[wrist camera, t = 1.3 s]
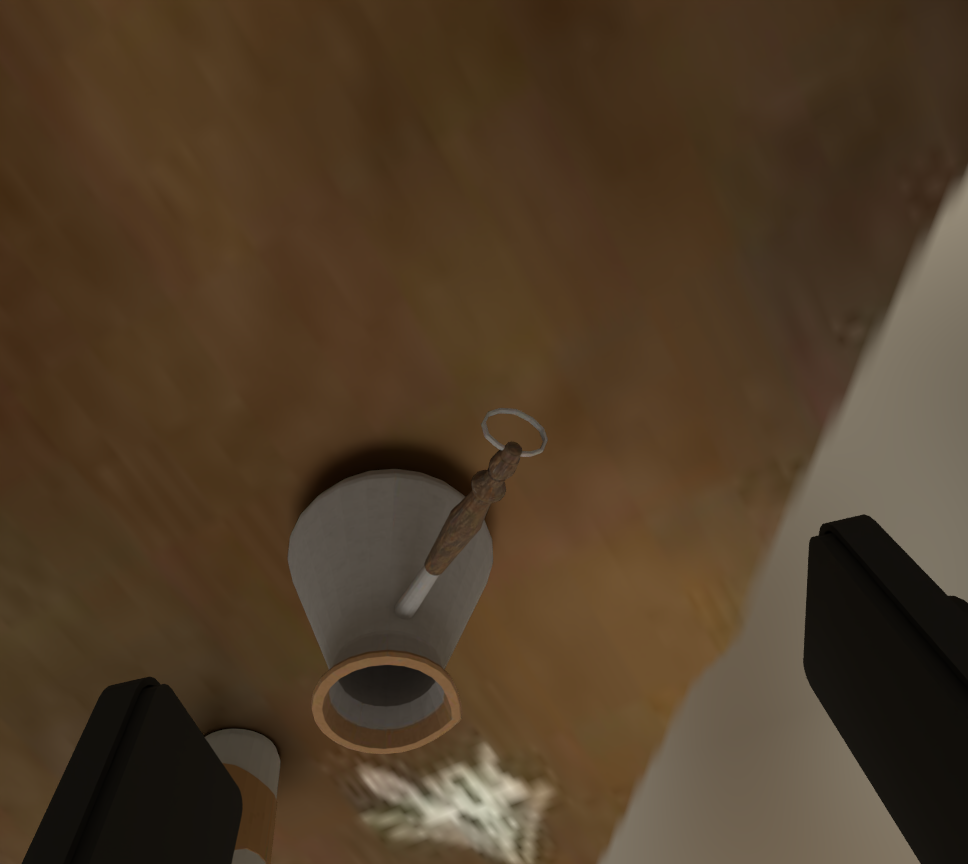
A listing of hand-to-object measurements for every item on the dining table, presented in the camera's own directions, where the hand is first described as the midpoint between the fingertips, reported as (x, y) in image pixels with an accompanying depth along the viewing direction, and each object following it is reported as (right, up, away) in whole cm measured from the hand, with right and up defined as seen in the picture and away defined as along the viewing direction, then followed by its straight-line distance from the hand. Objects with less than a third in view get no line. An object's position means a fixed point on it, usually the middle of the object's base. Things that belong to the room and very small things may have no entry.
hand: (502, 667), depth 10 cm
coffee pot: (-4, +2, +29) cm, 29 cm away
